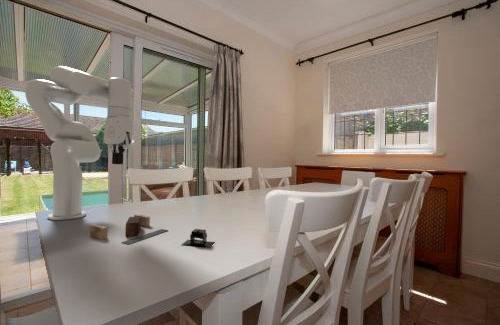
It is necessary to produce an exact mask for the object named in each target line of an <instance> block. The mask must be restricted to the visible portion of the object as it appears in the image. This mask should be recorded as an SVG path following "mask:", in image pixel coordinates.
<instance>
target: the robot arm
mask: <svg viewBox="0 0 500 325" xmlns="http://www.w3.org/2000/svg"><path fill="white" fill-rule="evenodd" d="M49 77H50V80H51V81H50V80H46V79H38V78H37V79H31V80H29V81H27V82H26V85H25V88H24V89H25V90H24V92H25V93H24V94H25V99H26V102H27V104H28V105H29V107H30V108H31V110H32V112H34V113H35V115H36V116H37V118H38V120H39V122H40V123H41V126H42V128H43V130H44V133H45V135H46V136H47V138H48V139H49V140H51V141H53V143H52V144H51V146H50V155H51V160H52V166H53V168H52V169H53V170H52V171H53V172H52V174H53V175H52V176H53V177H52V179H53V180H52V206H51V207H50V208H51V210H52V213H49V214H48V215H47V219H48V220H52V221H66V220H74V219H79V218H83V217H85V216H86V215H87V212H86V211H85V210H83V209H82V207H83V206H82V204H83V202H82V200H83V172H82V169H81V168H80V166H79V165H78V163H94V162H97V161H98V160H99V159H100V157H101V147H100V144H99V143H98V141H97V139H96V138H95V135H94V133H93V132H92V131H91V128H90V127H89V126H88V125H87V124H85V123H84V122H80V121H74V120H69V119H67V118H66V117H65V116H64V114H63V112H62V111H61V109H60V108H59V107H58V106H56V105H55V104H60V105H64V106H72V105H75V104H76V103H77V102H79V100H81V99H82V98H83V97H88V98H92V99H98V100H102V101H105V102H107V113H106V118H105V123H104V130H103V143H104V144H106V145H107V148H109V149H110V150H111V154H112V157H111V164H112V165H123V164H124V154H125V151H126V150H127V149H129V148H130V145H131V144H132V140H133V126H132V125H133V124H132V97H133V96H132V95H133V94H132V92H133V84H132V82H131V81H130V80H128V79H126V78H124V77H114V76H113V77H110V78H109V80H107V79H106V78H102V77H99V76H95V75H92V74H89V73H87V72H85V71H82V70H80V69H79V70H78V69H75V68H71V67H68V66H63V65H59V66H55V67H53V68H52V69H51V70H50V72H49Z"/></svg>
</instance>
